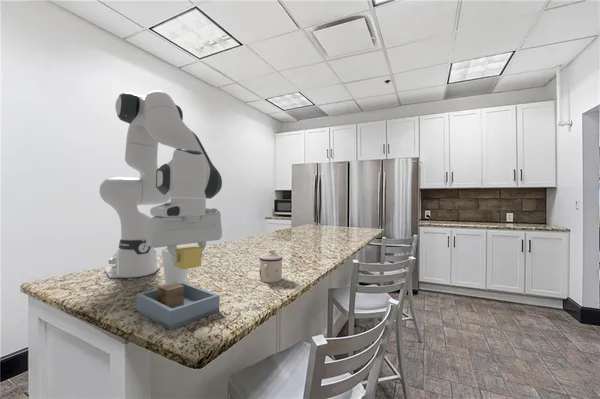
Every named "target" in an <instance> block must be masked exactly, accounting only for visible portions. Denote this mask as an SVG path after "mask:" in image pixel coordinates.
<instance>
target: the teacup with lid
mask: <svg viewBox="0 0 600 399" xmlns="http://www.w3.org/2000/svg"><path fill="white" fill-rule="evenodd" d="M258 259H259V276H258V277H259V281H261V283H262V282H263V283H270V284H271V283H278V282H280V281H281V280H282V278H283V277H282V272H283V271H282V270H283V268H282V266H283V256H282V255H280V254H278V253H276V252H274V249H268V252H265V253H263V254H261V255H260V256H259V258H258Z"/></svg>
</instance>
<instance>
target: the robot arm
mask: <svg viewBox="0 0 600 399" xmlns="http://www.w3.org/2000/svg"><path fill="white" fill-rule="evenodd" d="M114 104H115V112H116V115H117V117H118V119H119V120H120V121H122V122H124V123H127V124H129V125H128V129H127V135H126V141H125V152H124V153H125V155H124V161H125V162H126V164H127V165H128V166H129V167H131V168H132V169H133V170H136V171H137V172H139V175H140V176H139V177H124V176H116V177H115V176H114V177H109V178H106V179H104V180H103V181H102V183H101V184H100V186H99V191H98V192H99V196H100V198H101V199H102V200H103V201H104V202H105V203H107V204H108V205H109V206H110V207H112V208H113V209H114V210H115V211H116V213H117V215H118V217H119V221H120V229H121V230H120V232H121V234H120V235H121V236H120V237H121V238H120V239H119V242H118V250H117V251H116V252H115V253H114V254H113V255H112V257H111V258H108V265H110V266H108V267H105V269H104V272H105V273H106V274H107V276H108V278H109V279H116V278H117V279H118V278H125V279H126V278H138V277H144V276H149V275H153V274H155V273H156V272H157V271H159V270H160V269H161V266H160V265H158V258H157V257H158V255H157V250H156V248H165V247H166V248H167V250H168V251H169V253H170V254H171V255H172V256H171V261H172V262H173V263H177V262H180V255H177V254H176V252H175V250H176V249H177V247H178V246H180V245H188V244H189V245H191V244H197V246H198V247H201V259H202V258H203V252H204V250H205V249H206V246H207V242H210V241H212V242H213V241H220V240H221V238H222V237H223V227H222V220H221V217H222V215H221V214H222V213H221V212H220V211H219V210H218V209H217V208H206V207H207V200H209V199H212V198H214V197H215V196H216V195H218V194H219V193H220V191H221V190H222V188H223V187H222V186H223V178H222V176H221V173H220V171H219V170H218V169H217V168H216V167H215V165H214V164H213V163H212V161H211V159H210V157H209V155H208V154H207V152H206V149H205V147H204V146H203V143H202V142H201V140H200V138H199V137H198V136H197V134H196V133H195V132H193V131H192V130H191V129H190V128H189V127H188V126H187V124H185V122H184V118H183V117H184V115H183V110H182V108H181V107H180V106H179V105H177V104H176V103H175V101H174V100H173V98H172V97H171V96H170V95H169V94H168V93H167V92H164V91H161V90H153V91H150V92H148V93H147V94H146V95H140V94H135V93H134V92H122V93H121V94H120V93H119V96H118V97H117V98H116V101H115V103H114ZM159 144H161V145H164V146H167V147H169V148H173V149H174V151H173V154H172V158H171V160H170V161H169V162H168V163H164V164H162V165H161V166H160V167H158V151H159V150H158V149H159ZM141 205H142V206H147V205H148V206H152V207H151V208H150V209H149V213H150V214H149V215H151V216H149V215H147V214H145V213H143V212H141V211H139V209H138V206H141ZM155 205H156V206H155Z"/></svg>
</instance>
